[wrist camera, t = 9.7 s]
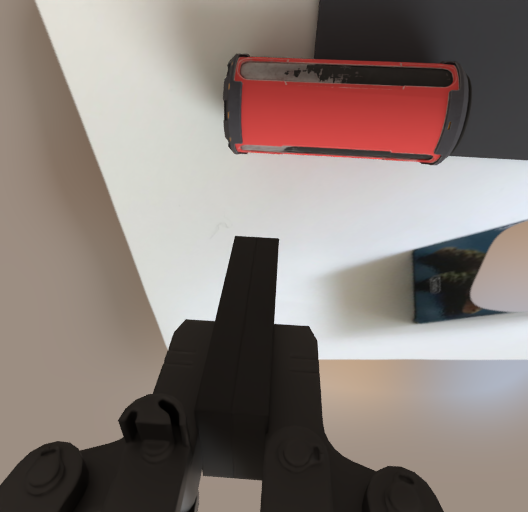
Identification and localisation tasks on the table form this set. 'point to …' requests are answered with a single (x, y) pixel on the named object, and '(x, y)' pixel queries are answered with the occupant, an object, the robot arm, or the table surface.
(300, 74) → the speaker
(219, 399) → the robot arm
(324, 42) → the mat
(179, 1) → the table surface
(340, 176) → the table surface
